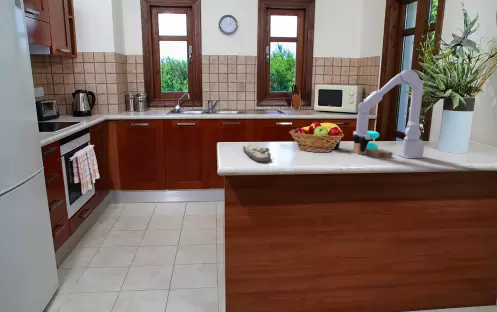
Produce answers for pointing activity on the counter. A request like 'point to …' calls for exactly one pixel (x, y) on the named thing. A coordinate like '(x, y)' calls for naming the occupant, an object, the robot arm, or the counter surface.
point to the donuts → (372, 136)
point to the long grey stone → (257, 152)
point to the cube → (358, 149)
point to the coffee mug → (337, 145)
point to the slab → (379, 153)
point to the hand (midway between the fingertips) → (359, 150)
